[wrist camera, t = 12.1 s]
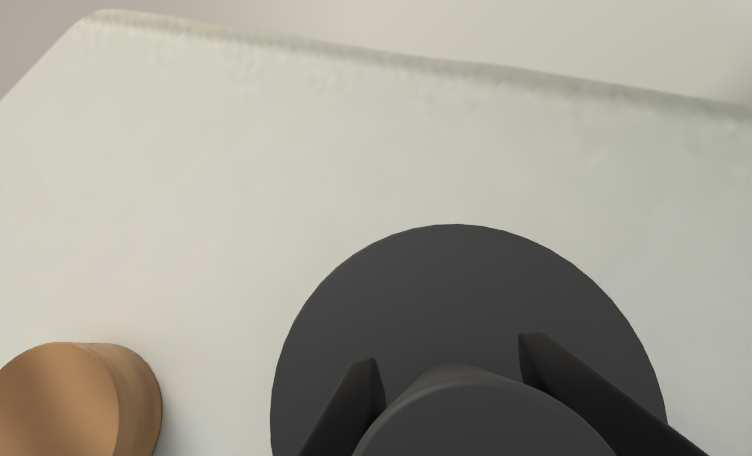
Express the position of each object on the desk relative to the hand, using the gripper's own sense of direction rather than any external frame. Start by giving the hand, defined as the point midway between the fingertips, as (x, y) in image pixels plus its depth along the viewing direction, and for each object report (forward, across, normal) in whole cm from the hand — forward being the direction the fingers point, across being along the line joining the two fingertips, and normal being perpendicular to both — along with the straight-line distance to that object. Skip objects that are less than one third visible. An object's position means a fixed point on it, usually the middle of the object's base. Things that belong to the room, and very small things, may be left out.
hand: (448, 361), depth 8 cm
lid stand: (+9, +19, +10) cm, 23 cm away
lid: (+3, 0, +5) cm, 6 cm away
